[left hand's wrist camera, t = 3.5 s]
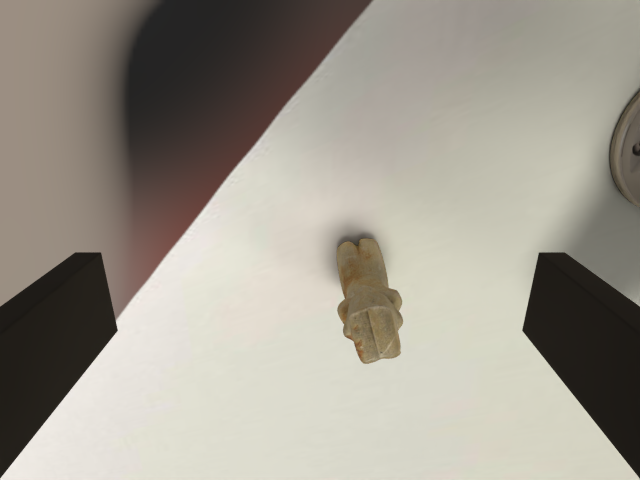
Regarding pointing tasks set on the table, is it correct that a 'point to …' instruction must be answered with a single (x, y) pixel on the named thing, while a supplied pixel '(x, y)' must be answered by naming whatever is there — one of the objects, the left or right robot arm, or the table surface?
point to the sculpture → (368, 302)
